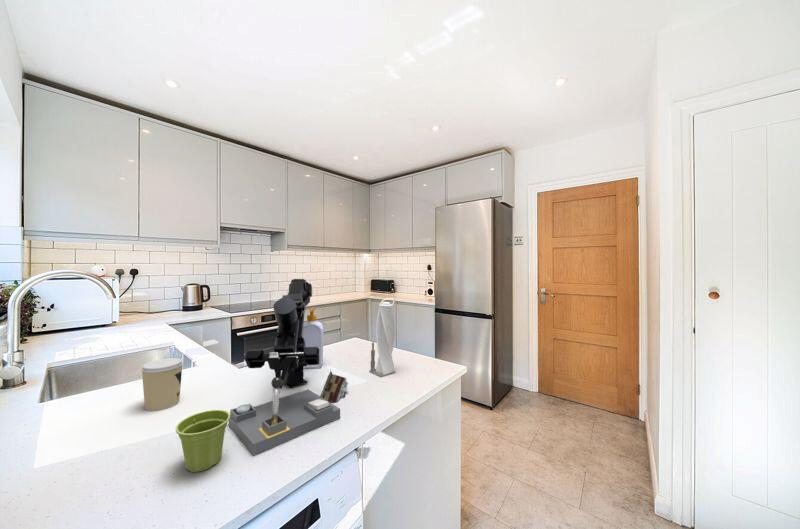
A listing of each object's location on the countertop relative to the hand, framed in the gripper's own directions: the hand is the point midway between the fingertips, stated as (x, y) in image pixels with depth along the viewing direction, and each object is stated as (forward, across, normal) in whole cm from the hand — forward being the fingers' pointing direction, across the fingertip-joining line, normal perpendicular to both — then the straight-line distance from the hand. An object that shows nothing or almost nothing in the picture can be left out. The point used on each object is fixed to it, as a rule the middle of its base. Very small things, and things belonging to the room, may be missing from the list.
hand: (279, 388), depth 76 cm
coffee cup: (-6, +35, -19) cm, 40 cm away
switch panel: (+6, -1, -8) cm, 10 cm away
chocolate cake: (-3, -13, -17) cm, 22 cm away
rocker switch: (+3, -10, -4) cm, 11 cm away
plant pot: (+15, +12, +2) cm, 20 cm away
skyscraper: (-15, -32, -29) cm, 46 cm away
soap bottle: (-23, -4, -36) cm, 44 cm away
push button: (+4, +9, -6) cm, 11 cm away
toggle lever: (+9, 0, 0) cm, 9 cm away
